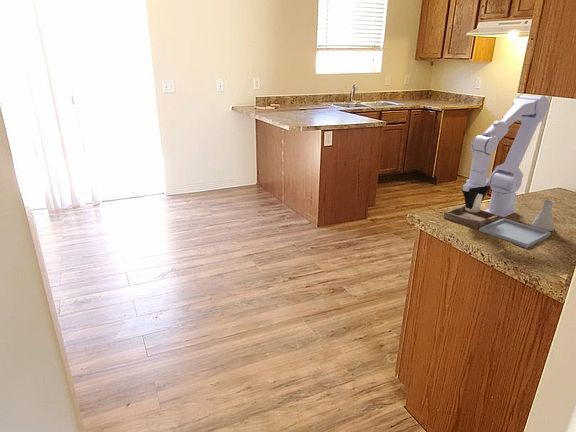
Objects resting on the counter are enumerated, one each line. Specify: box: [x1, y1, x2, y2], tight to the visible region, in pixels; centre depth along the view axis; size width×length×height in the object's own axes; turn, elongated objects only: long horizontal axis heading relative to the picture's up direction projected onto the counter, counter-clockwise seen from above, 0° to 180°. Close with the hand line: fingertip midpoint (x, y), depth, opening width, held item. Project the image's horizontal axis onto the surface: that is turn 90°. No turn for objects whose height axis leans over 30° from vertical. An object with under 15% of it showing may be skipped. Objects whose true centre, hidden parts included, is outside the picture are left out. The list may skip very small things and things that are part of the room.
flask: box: [531, 199, 555, 232], centre depth 144 cm, size 7×7×10 cm
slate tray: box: [478, 217, 552, 249], centre depth 140 cm, size 16×16×2 cm
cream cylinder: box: [465, 193, 483, 212], centre depth 150 cm, size 5×5×6 cm
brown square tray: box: [443, 204, 500, 230], centre depth 152 cm, size 14×14×2 cm
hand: (472, 206), depth 151 cm, fingers closed on cream cylinder, 5 cm apart
